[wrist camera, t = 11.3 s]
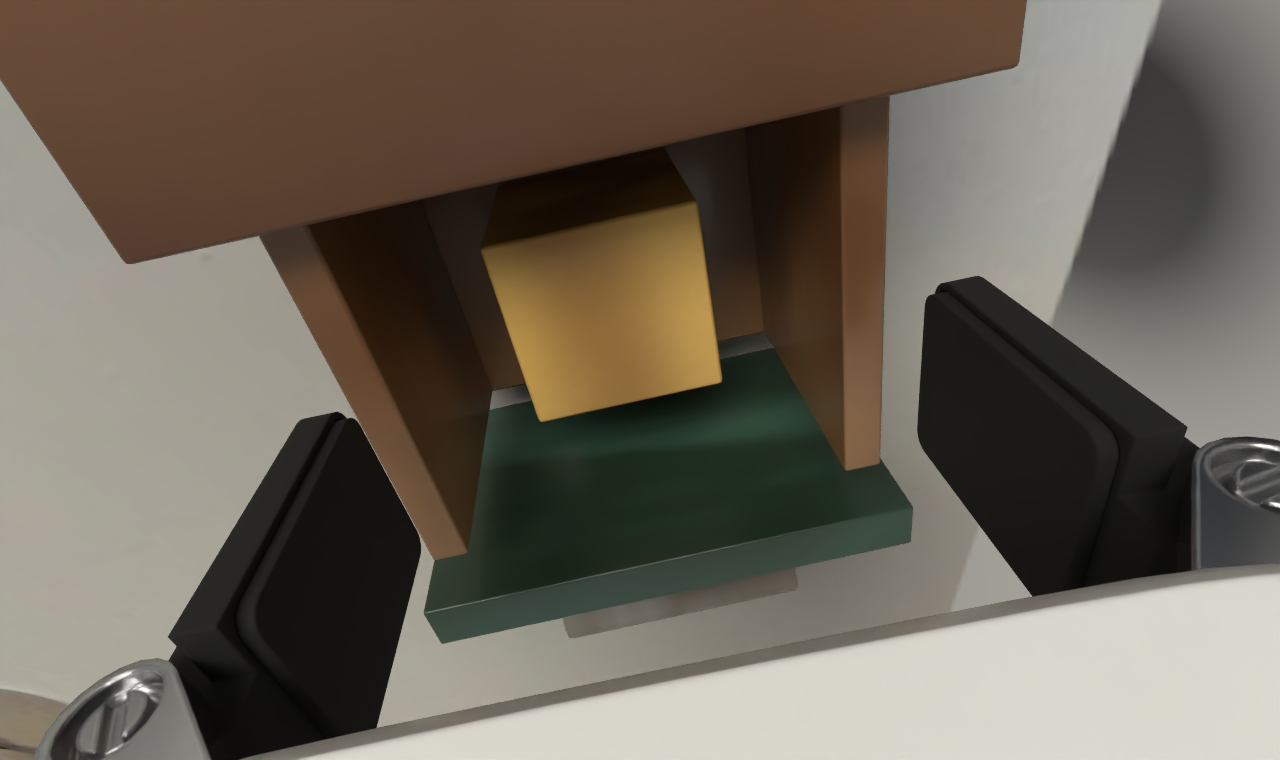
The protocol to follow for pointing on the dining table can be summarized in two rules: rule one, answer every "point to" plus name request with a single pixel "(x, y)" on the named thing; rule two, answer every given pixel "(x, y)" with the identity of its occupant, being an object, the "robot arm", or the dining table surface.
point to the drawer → (639, 431)
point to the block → (603, 285)
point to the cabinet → (432, 93)
